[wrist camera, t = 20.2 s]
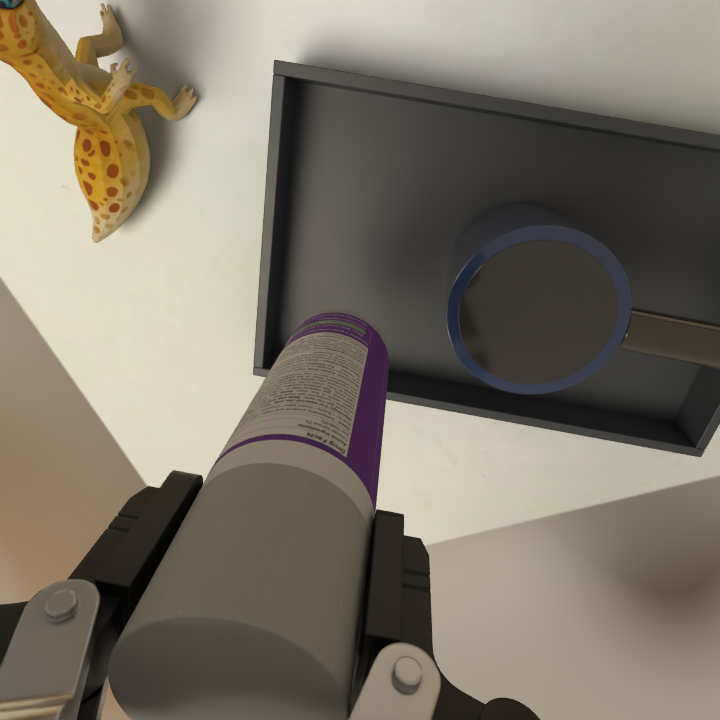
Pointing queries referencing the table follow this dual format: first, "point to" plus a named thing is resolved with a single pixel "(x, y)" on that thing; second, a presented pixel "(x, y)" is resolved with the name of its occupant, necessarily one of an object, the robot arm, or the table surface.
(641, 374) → the tray
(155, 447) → the table surface
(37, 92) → the toy
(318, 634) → the container
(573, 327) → the blue saucepan
